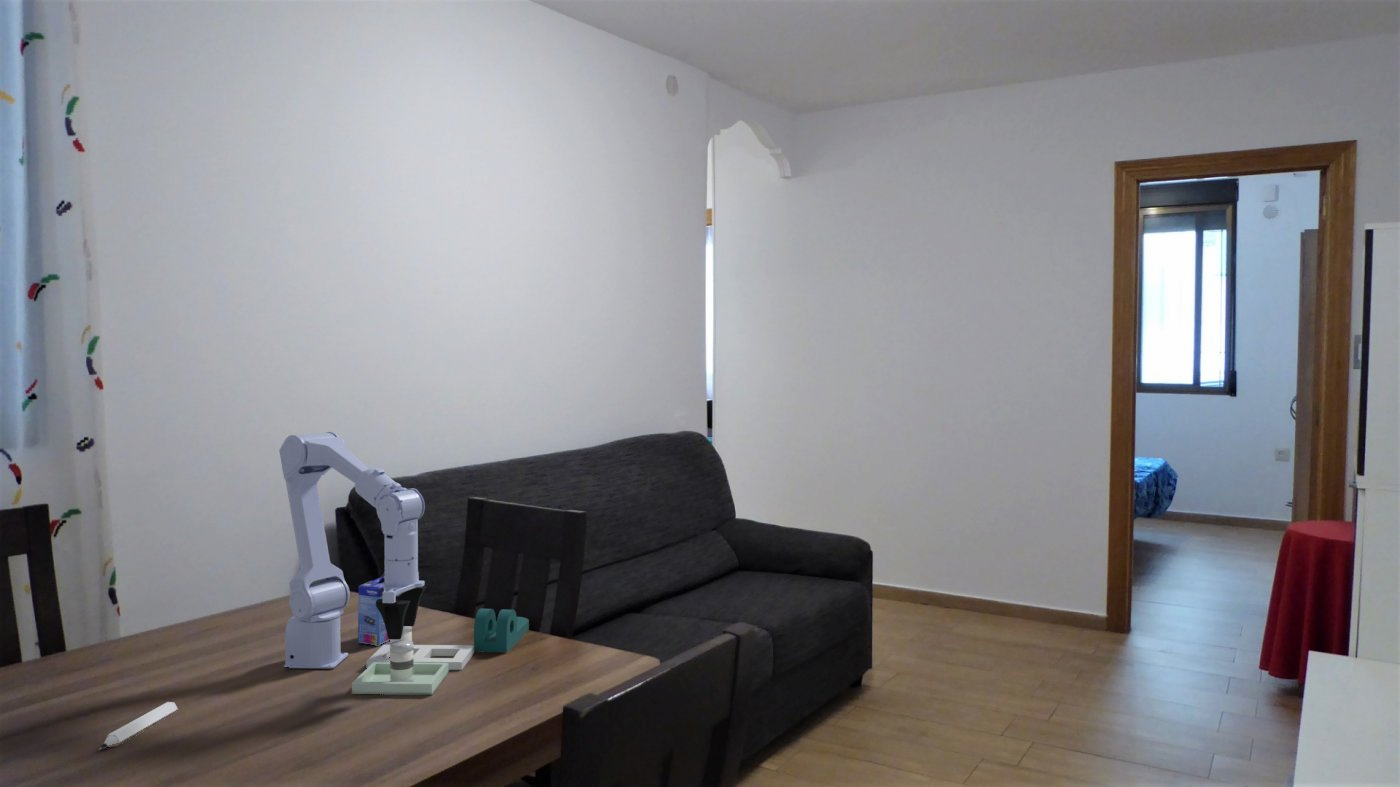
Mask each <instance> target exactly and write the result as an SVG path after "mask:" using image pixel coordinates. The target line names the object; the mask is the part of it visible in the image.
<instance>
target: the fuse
mask: <svg viewBox="0 0 1400 787" xmlns="http://www.w3.org/2000/svg"><path fill="white" fill-rule="evenodd" d="M412 631H413V626H403V633H402V637H401V639H390V641H389V642H390V643H392V642H394V641H398V640H410V641H413V638H412V637H413V634H412V633H413V632H412ZM390 643H389V644H390Z"/></svg>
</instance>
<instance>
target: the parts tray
mask: <svg viewBox="0 0 1400 787" xmlns="http://www.w3.org/2000/svg"><path fill="white" fill-rule="evenodd" d="M413 673H414V681H413V682H390V662H373V663H372V664H371V665H370V666H369V667H368V668H367V669H366V668H365V669H364V671H363V672H362V673H360V675H358V677H356V679H354V681H352V682H351V695H352V694H353V693H354V694H355V693H357V694H358V693H359V694H380V696H433V694H434V693H435V692H436V690H437V689H438V688H439V687H440V685H441V684H442V682H444V680H445V679H446V677H447V676H448V675H449V670H448V663H414V666H413ZM381 694H382V695H381ZM383 694H384V695H383Z"/></svg>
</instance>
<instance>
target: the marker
mask: <svg viewBox="0 0 1400 787" xmlns="http://www.w3.org/2000/svg"><path fill="white" fill-rule="evenodd" d="M178 709H179V708H178V706H177V705H176V702H174V701H172V702H171V701H166V702H164V703H163V704H161V705H159V706H158V707H156V708H154V709H152V710H149V712H147V713H145V714H143V715H141V716H139V717H138V718H136V719H134V720H132V721H130V722H129V723H127V724H125V725H123V726H121V727H119V728H118V729H116V730H114V731H112V732H110V733H108V734H107V736H106V738H105V740H104V742H103V744H102V745H101V746H100V747H99V748H98V751H101V750H103V749H102V748H105V747H106V746H109V745H112V744H116V743H120V742H122V741H124V740H125V739H127V738H129V737H130V736H132V735H134V734H136V733H137V732H139V731H141V730H143V729H144V728H146V727H148V726H150V725H152V724H153V723H155V722H157V721H159V720H161V719H162V718H164V717H166V716H168V715H169V714H171V713H173V712H175V711H176V710H177V711H178ZM177 711H176V712H177ZM100 749H101V750H100Z"/></svg>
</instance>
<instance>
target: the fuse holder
mask: <svg viewBox="0 0 1400 787" xmlns="http://www.w3.org/2000/svg"><path fill="white" fill-rule="evenodd" d="M474 653H475V652H474V644H473V645H472V644H471V645H469V644H468V645H467V644H466V645H465V644H464V645H463V644H462V645H461V644H452V645H451V644H443V645H442V644H413V658H414V663H448V671H463V669H464V668H465V666H466V665H467V664H468V662H469V661H470V660H471V658H472V656H473V655H474ZM389 657H390V644H382V645H381V646H380V648H378V649H377V650H376V651H375V652H374V653H373V654H372V655H371V656H370V657H369V658H368V659H367V660H366V661H365V663H366V664H365V665H366V666H365V667H366V668H368V667H369V666H370V665H371V664H372V663H373V662H390V658H389ZM366 668H365V669H366Z"/></svg>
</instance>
